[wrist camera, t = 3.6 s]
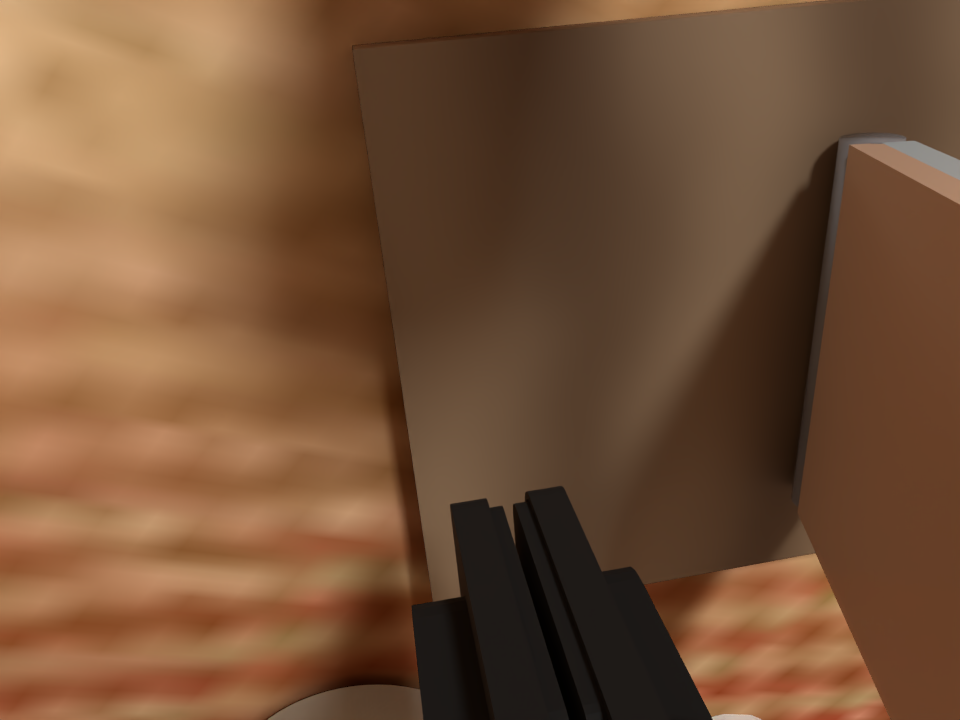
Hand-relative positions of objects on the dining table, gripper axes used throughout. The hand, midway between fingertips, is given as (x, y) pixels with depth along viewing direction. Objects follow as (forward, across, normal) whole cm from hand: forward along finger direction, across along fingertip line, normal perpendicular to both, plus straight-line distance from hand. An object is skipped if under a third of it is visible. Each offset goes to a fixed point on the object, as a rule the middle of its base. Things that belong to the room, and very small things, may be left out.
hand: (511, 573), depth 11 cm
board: (+8, -9, 0) cm, 12 cm away
